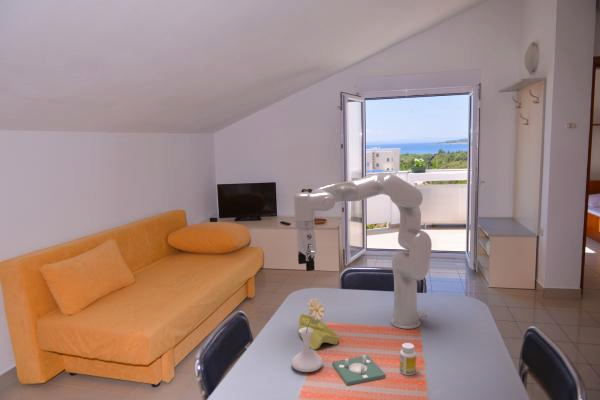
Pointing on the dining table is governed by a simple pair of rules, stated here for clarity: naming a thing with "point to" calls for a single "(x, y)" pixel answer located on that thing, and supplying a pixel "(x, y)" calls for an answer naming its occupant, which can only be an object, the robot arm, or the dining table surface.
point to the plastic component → (318, 332)
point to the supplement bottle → (407, 359)
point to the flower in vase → (307, 357)
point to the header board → (358, 370)
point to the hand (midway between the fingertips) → (306, 267)
